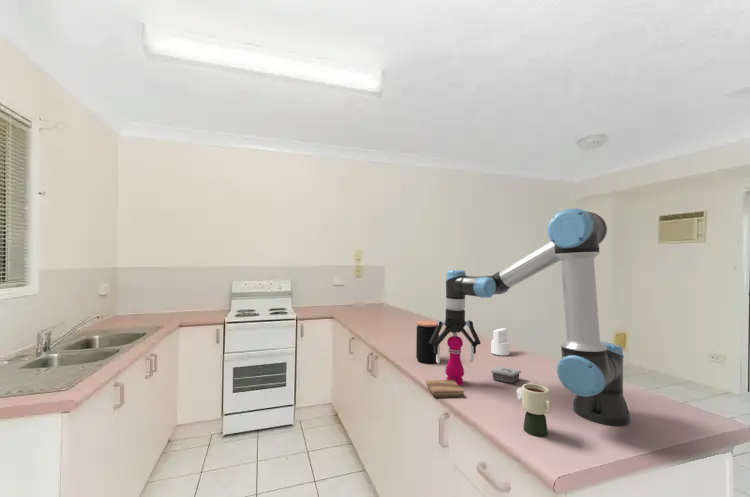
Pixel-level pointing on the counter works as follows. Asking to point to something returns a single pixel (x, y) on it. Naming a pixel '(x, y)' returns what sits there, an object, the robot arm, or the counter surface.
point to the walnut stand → (444, 388)
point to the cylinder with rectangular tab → (500, 342)
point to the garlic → (519, 393)
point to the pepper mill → (455, 359)
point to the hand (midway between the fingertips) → (454, 362)
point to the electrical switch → (506, 374)
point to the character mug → (535, 408)
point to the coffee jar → (425, 341)
